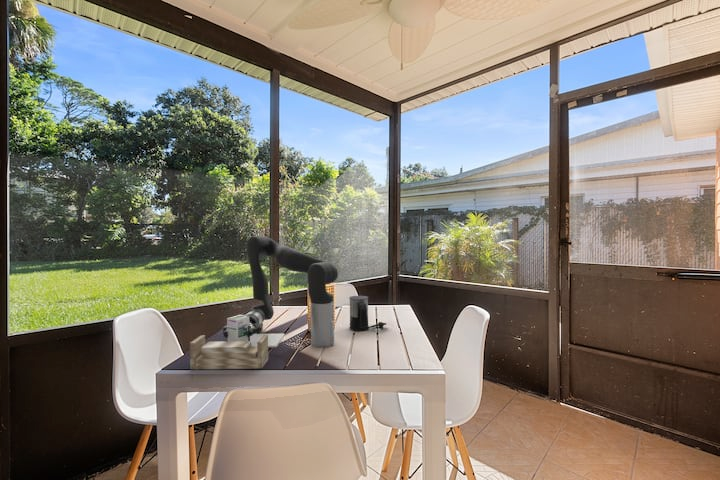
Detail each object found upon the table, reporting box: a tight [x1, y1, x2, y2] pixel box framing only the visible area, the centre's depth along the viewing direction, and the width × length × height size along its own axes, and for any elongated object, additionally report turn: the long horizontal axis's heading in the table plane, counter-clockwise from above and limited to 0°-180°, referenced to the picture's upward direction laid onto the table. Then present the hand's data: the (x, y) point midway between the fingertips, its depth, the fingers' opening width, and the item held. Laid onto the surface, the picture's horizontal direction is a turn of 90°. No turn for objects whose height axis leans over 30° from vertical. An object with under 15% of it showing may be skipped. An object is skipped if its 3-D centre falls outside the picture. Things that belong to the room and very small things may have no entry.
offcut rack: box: [189, 334, 269, 370], centre depth 116 cm, size 24×8×9 cm, turn 91°
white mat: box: [250, 333, 285, 349], centre depth 140 cm, size 16×16×1 cm
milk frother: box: [348, 295, 387, 332], centre depth 157 cm, size 14×16×15 cm
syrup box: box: [226, 314, 250, 341], centre depth 125 cm, size 6×6×14 cm
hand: (237, 334), depth 123 cm, fingers closed on syrup box, 8 cm apart
